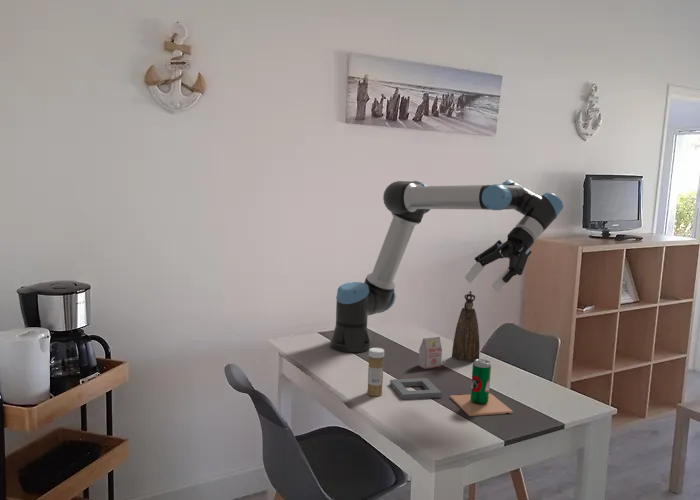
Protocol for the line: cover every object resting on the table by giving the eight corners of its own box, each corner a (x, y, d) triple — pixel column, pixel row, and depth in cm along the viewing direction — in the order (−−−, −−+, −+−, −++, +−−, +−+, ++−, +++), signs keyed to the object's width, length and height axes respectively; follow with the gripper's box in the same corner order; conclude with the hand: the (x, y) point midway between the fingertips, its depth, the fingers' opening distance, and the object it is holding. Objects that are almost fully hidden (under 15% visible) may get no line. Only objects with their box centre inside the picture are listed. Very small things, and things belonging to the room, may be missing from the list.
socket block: (389, 384, 176) (390, 379, 176) (426, 382, 179) (426, 377, 179) (402, 399, 165) (402, 394, 165) (441, 397, 168) (441, 392, 167)
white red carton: (418, 365, 195) (420, 337, 194) (434, 363, 198) (436, 335, 197) (424, 368, 192) (426, 340, 191) (441, 366, 195) (442, 338, 194)
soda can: (488, 406, 161) (491, 365, 159) (470, 404, 162) (473, 363, 160) (487, 399, 166) (490, 359, 164) (470, 397, 167) (473, 357, 165)
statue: (461, 362, 200) (465, 292, 198) (449, 357, 206) (452, 288, 204) (481, 360, 203) (485, 291, 201) (468, 355, 210) (472, 287, 208)
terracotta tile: (450, 397, 168) (450, 395, 168) (490, 395, 171) (490, 393, 171) (469, 416, 155) (469, 413, 155) (512, 413, 158) (512, 411, 158)
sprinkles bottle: (384, 392, 170) (386, 348, 168) (379, 397, 165) (382, 352, 164) (369, 389, 171) (371, 346, 169) (364, 395, 167) (366, 350, 165)
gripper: (560, 248, 166) (514, 301, 162) (504, 238, 189) (463, 284, 184) (547, 230, 163) (500, 283, 159) (492, 221, 186) (450, 268, 182)
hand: (480, 284), depth 172 cm, fingers open, 13 cm apart
